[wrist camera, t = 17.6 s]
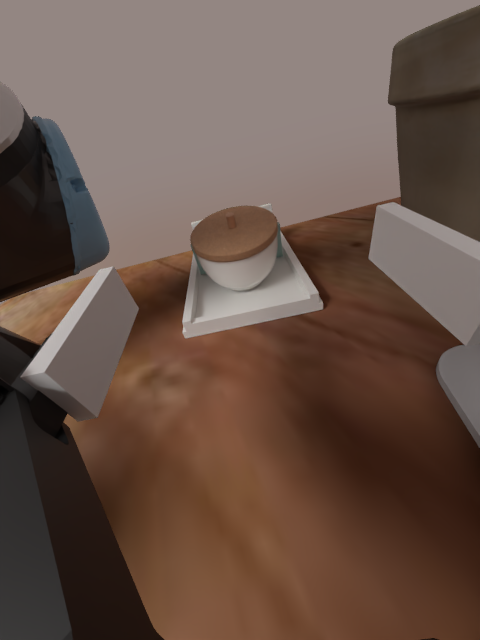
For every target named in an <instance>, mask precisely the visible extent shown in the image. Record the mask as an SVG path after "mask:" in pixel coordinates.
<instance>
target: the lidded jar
mask: <svg viewBox="0 0 480 640" xmlns="http://www.w3.org/2000/svg"><path fill="white" fill-rule="evenodd" d="M277 232H278V224H277V219H276V217H275V216H274V214H273V213H271V212H270V211H269V210H267V209H264V208H261V207H257V206H238V207H231V208H227V209H224V210H221V211H219V212H216V213H214V214H211V215H210V216H208V217H206V218H205V219H203V220H202V221H201V222H200V223H199V224H197V226H196V227H195V228H194V230H193V232H192V234H191V245H192V247H193V249H194V251H195V253H196V255H197V257H198V260H199V262H200V264H201V266H202V267H203V269H204V271H205V272H206V274H207V275H208V276H209V277H210V278H211V279H212V280H213V281H214V282H216V283H217V284H219V285H221V286H223V287H226V288H229V289H231V290H234V291H246V290H250V289H252V288H254V287H256V286H258V285H259V284H260V283H261V282H262V281H263V280H264V279H265V278H266V277H267V276H268V274H269V273H270V271H271V270H272V268H273V266H274V263H275V260H276V255H277V248H278V239H277Z"/></svg>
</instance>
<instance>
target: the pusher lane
mask: <svg viewBox="0 0 480 640" xmlns="http://www.w3.org/2000/svg"><path fill="white" fill-rule="evenodd" d="M257 207H261V208H264V209H267V210H269V211H270V212H271V213H272V207H271V204H270V203H269V204H265V205H261V206H257ZM201 221H202V220H199V221H195V222H192V223H191V225H192V228H193V230H194V228H195V227H196V226H197V224H199V223H200V222H201ZM280 232H281V231H280ZM281 242H282V253H283V256H281V257H276V260H275V263H274V266H273V268H272V270H271V271H270V273H269V274H268V276H267V277H266V278H265V279H264V280H263V281H262V282H261V283H260V284H259V285H258V286H256V287H254V288H252V289H250V290H246V291H234V290H231V289H229V288H226V287H223V286H221V285H219V284H217V283H216V282H214V281H213V280H212V279H211V278H210V277H209V276H208V275H207V274H202V275H201V274H200V271H199V268H198V265H197V262H196V259H195V256H194V253H193V259H192V265H191V271H190V277H189V284H188V290H187V296H186V302H185V308H184V314H183V321H182V323H183V325H184V327H183V335H184V337H185V338H190V337H195V336H199V335H204V334H209V333H214V332H218V331H223V330H228V329H233V328H237V327H242V326H247V325H252V324H256V323H261V322H266V321H271V320H275V319H280V318H285V317H289V316H294V315H299V314H304V313H308V312H313V311H318V310H323V302H322V300H321V298H320V297H319V293H318V291H317V289H316V288H315V286H314V284H313V283H312V281H311V280H310V278H309V276H308V275H307V273H306V271H305V270H304V268H303V267H302V265H301V263H300V262H299V260H298V258H297V257H296V255H295V254H294V252H293V250H292V249H291V247H290V245H289V244H288V242H287V241H286V239H285V237H284V236H283V234H282V232H281Z"/></svg>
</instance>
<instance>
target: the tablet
mask: <svg viewBox="0 0 480 640" xmlns="http://www.w3.org/2000/svg"><path fill="white" fill-rule="evenodd" d="M436 375H437V379H438V381H439V383H440V385H441V387H442V388H443V390H444V392H445V394H446V395H447V397H448V399H449V400H450V402H451V403H452V405H453V407H454V408H455V410H456V411H457V413H458V415H459V416H460V418H461V419H462V421H463V423H464V424H465V426H466V427H467V429H468V431H469V432H470V434H471V435H472V437H473V439H474V440H475V442H476V443H477V445H478V447H479V448H480V344H475V345H470V346H465V345H460V346H456V347H453V348H451V349H449V350H447V351H446V352H444V353H443V355H442V356H441V358H440V359H439V361H438V364H437V367H436Z"/></svg>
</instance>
